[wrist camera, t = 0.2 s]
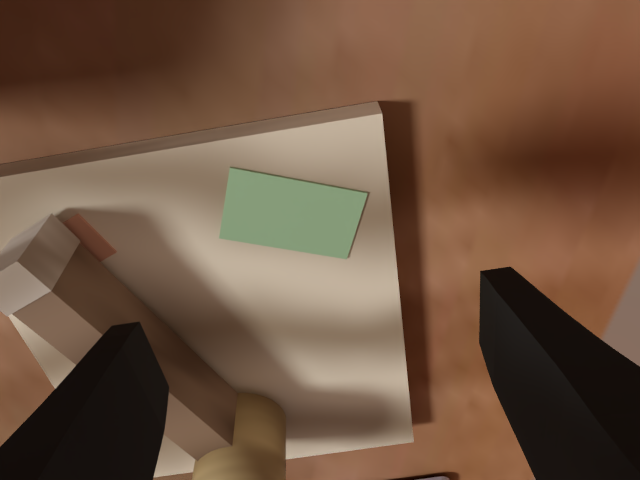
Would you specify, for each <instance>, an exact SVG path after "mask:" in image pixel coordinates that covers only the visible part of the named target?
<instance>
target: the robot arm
mask: <svg viewBox="0 0 640 480" xmlns="http://www.w3.org/2000/svg"><path fill="white" fill-rule="evenodd" d="M479 343H480V347H481V350H482V353H483V356H484V360H485V363H486V366H487V369H488V372H489V375H490V378H491V381H492V384H493V387H494V389H495V392H496V394H497V396H498V398H499V401H500V403H501V405H502V407H503V409H504V412H505V414H506V416H507V418H508V420H509V422H510V425H511V427H512V429H513V431H514V433H515V435H516V438H517V440H518V442H519V444H520V446H521V448H522V451H523V453H524V455H525V457H526V459H527V461H528V464H529V466H530V468H531V470H532V472H533V474H534V477H535V479H536V480H640V367H639V366H638V365H636V364H635V363H633V362H632V361H630V360H629V359H628V358H626V357H625V356H623V355H622V354H620V353H619V352H617V351H616V350H615V349H613V348H612V347H610V346H609V345H608V344H606V343H605V342H604V341H602V340H601V339H599V338H598V337H597V336H595V335H594V334H593V333H592V332H590V331H589V330H588V329H586V328H585V327H584V326H582V325H581V324H580V323H579V322H577V321H576V320H575V319H573V318H572V317H571V316H569V315H568V314H567V313H566V312H564V311H563V310H562V309H561V308H559V307H558V306H557V305H556V304H555V303H553V302H552V301H551V300H550V299H549V298H547V297H546V296H545V295H544V294H543V293H541V292H540V291H539V290H538V289H537V288H535V287H534V286H533V285H532V284H531V283H530V282H528V281H527V280H526V279H525V278H524V277H522V276H521V275H520V274H519V273H518V272H516V271H515V270H514V269H513V268H511V267H505V268H498V269H491V270H485V271H480V332H479ZM168 396H169V385H168V383H167V380H166V378H165V376H164V374H163V372H162V369H161V367H160V365H159V363H158V361H157V359H156V356H155V354H154V352H153V350H152V348H151V345H150V343H149V341H148V339H147V337H146V334H145V332H144V330H143V328H142V326H141V323H140V321H139V322H133V323H126V324H119V325H112V326H111V327H110V328H109V329H108V330H107V331H106V332H105V333H104V334H103V335H102V337H101V338H100V339H99V340H98V341H97V342H96V343H95V344H94V346H93V347H92V348H91V349H90V350H89V351H88V352H87V354H86V355H85V356H84V357H83V358H82V359H81V360H80V362H79V363H78V364H77V365H76V366H75V367H74V368H73V370H72V371H71V372H70V373H69V374H68V375H67V376H66V377H65V379H64V380H63V381H62V382H61V383H60V384H59V385H58V386H57V388H56V389H55V390H54V391H53V392H52V393H51V394H50V395H49V396H48V398H47V399H46V400H45V401H44V402H43V403H42V404H41V405H40V406H39V407H38V408H37V409H36V411H35V412H34V413H33V414H32V415H31V416H30V417H29V418H28V419H27V420H26V421H25V422H24V423H23V424H22V425H21V426H20V427H19V428H18V429H17V430H16V431H15V432H14V433H13V434H12V435H11V436H10V437H9V439H8V440H7V441H6V442H5V443H4V444H3V445H2V446H1V447H0V480H153V477H154V473H155V469H156V465H157V461H158V456H159V452H160V448H161V444H162V440H163V435H164V431H165V423H166V415H167V406H168ZM416 480H450V479H449V478H448V477H445V476H439V477H431V478H424V479H416Z"/></svg>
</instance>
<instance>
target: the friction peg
mask: <svg viewBox="0 0 640 480" xmlns="http://www.w3.org/2000/svg"><path fill="white" fill-rule="evenodd" d="M0 311H1V312H2V313H4V314H5V315H6V316H9V315H11V314H12V315H14V316H15V317H16V318H17V319H19V320H20V321H21V322H23V323H24V324H25V325H26V326H28V327H29V328H30V329H31V330H33V331H34V332H35V333H36V334H38V335H39V336H40V337H41V338H43V339H44V340H45V341H46V342H48V343H49V344H50V345H52V346H53V347H54V348H55V349H57V350H58V351H59V352H60V353H62V354H63V355H64V356H65V357H67V358H68V359H69V360H70V361H72V362H73V363H74V364H76V365H77V364H78V363H79V362H80V360H81V359H82V358H83V357H84V356H85V355H86V354H87V352H88V351H89V350H90V349H91V348H92V347H93V346H94V344H95V343H96V342H97V341H98V340H99V339H100V338H101V337H102V335H103V334H104V333H105V332H106V331H107V330H108V329H109V328H110V327H111V326H112V325H119V324H126V323H133V322H139V321H140V323H141V326H142V328H143V330H144V332H145V334H146V337H147V339H148V341H149V343H150V345H151V348H152V350H153V352H154V354H155V356H156V359H157V361H158V363H159V365H160V367H161V369H162V372H163V374H164V376H165V378H166V380H167V383H168V385H169V396H168V406H167V415H166V423H165V431H164V435H165V436H166V437H168V438H169V439H170V440H171V441H173V442H174V443H175V444H176V445H178V446H179V447H180V448H181V449H183V450H184V451H185V452H187V453H188V454H189V455H190V456H192V457H193V458H194V459H195V463H194V469H193V475H192V480H286V416H285V413H284V411H283V409H282V408H281V407H280V406H279V405H278V404H277V403H276V402H274V401H273V400H271V399H269V398H267V397H265V396H262V395H258V394H253V393H237V392H236V391H235V390H234V389H233V388H232V387H231V386H230V385H229V384H228V383H227V382H226V381H225V380H224V379H222V378H221V377H220V376H219V375H218V374H217V373H216V372H215V371H214V370H213V369H212V368H211V367H210V366H209V365H208V364H207V363H206V362H205V361H204V360H202V359H201V358H200V357H199V356H198V355H197V354H196V353H195V352H194V351H193V350H192V349H191V348H190V347H189V346H188V345H187V344H186V343H185V342H183V341H182V340H181V339H180V338H179V337H178V336H177V335H176V334H175V333H174V332H173V331H172V330H171V329H170V328H169V327H168V326H167V325H166V324H165V323H163V322H162V321H161V320H160V319H159V318H158V317H157V316H156V315H155V314H154V313H153V312H152V311H151V310H150V309H149V308H148V307H147V306H146V305H145V304H143V303H142V302H141V301H140V300H139V299H138V298H137V297H136V296H135V295H134V294H133V293H132V292H131V291H130V290H129V289H128V288H127V287H126V286H124V285H123V284H122V283H121V282H120V281H119V280H118V279H117V278H116V277H115V276H114V275H113V274H112V273H111V272H110V271H109V270H108V269H107V268H106V267H104V266H103V265H102V264H101V263H100V262H99V261H98V260H97V259H96V258H95V257H94V256H93V255H92V254H91V253H90V252H89V251H88V250H87V249H86V248H84V247H83V246H82V245H81V244H80V240H79V239H78V238H77V237H76V236H75V235H74V234H73V233H72V232H71V231H70V230H69V229H68V228H67V227H66V226H65V225H64V224H63V223H62V222H60V221H59V220H58V219H57V218H56V217H55V216H54V215H53V214H52V213H51V214H49V215H48V216H46V217H45V218H43V219H42V220H40V221H38V222H37V223H35V224H34V225H32V226H30V227H29V228H27V229H26V230H24V231H23V232H21V233H19V234H18V235H16V236H15V237H13V238H11V240H10V241H9V242H8V244H7V245H6V246H5V247H4V249H3V250H2V251H1V253H0Z"/></svg>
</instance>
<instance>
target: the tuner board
mask: <svg viewBox="0 0 640 480" xmlns="http://www.w3.org/2000/svg"><path fill="white" fill-rule="evenodd" d="M230 167H235V168H240V169H245V170H251V171H256V172H261V173H267V174H272V175H278V176H283V177H288V178H294V179H299V180H305V181H310V182H315V183H321V184H326V185H331V186H337V187H342V188H348V189H353V190H358V191H364V192H367V193H368V194H367V197H366V200H365V204H364V207H363V210H362V213H361V216H360V219H359V222H358V226H357V229H356V232H355V235H354V238H353V241H352V245H351V248H350V251H349V254H348V257H347V259H342V258H335V257H329V256H323V255H317V254H311V253H305V252H299V251H293V250H287V249H280V248H274V247H268V246H262V245H256V244H250V243H244V242H238V241H231V240H225V239H219V235H220V229H221V222H222V216H223V209H224V203H225V196H226V190H227V183H228V177H229V170H230ZM51 213H52V214H53V215H54V216H55V217H56V218H57V219H58V220H59V221H60V222H62V223H63V222H65V221H66V220H68V219H70V218H71V217H73V216H75V215H76V214H78V213H79V214H80V215H81V216H82V217H83V218H84V219H85V220H86V221H87V222H88V223H89V224H90V225H91V226H92V227H93V228H94V229H95V230H96V231H97V232H98V233H99V234H100V235H101V236H102V237H103V238H104V239H105V240H106V241H107V242H108V243H109V244H110V245H111V246H112V247H113V248H114V249H115V250H116V251H117V252H116V253H115V254H113V255H111V256H110V257H108V258H106V259H104V260H103V261H101V262H100V263H101V264H102V265H103V266H104V267H106V268H107V269H108V270H109V271H110V272H111V273H112V274H113V275H114V276H115V277H116V278H117V279H118V280H119V281H120V282H121V283H122V284H123V285H124V286H126V287H127V288H128V289H129V290H130V291H131V292H132V293H133V294H134V295H135V296H136V297H137V298H138V299H139V300H140V301H141V302H142V303H143V304H145V305H146V306H147V307H148V308H149V309H150V310H151V311H152V312H153V313H154V314H155V315H156V316H157V317H158V318H159V319H160V320H161V321H162V322H163V323H165V324H166V325H167V326H168V327H169V328H170V329H171V330H172V331H173V332H174V333H175V334H176V335H177V336H178V337H179V338H180V339H181V340H182V341H183V342H185V343H186V344H187V345H188V346H189V347H190V348H191V349H192V350H193V351H194V352H195V353H196V354H197V355H198V356H199V357H200V358H201V359H202V360H204V361H205V362H206V363H207V364H208V365H209V366H210V367H211V368H212V369H213V370H214V371H215V372H216V373H217V374H218V375H219V376H220V377H221V378H222V379H224V380H225V381H226V382H227V383H228V384H229V385H230V386H231V387H232V388H233V389H234V390H235V391H236V392H237V393H253V394H258V395H262V396H265V397H267V398H269V399H271V400H273V401H274V402H276V403H277V404H278V405H279V406H280V407H281V408H282V409H283V411H284V413H285V416H286V459H292V458H299V457H307V456H314V455H321V454H329V453H336V452H344V451H351V450H358V449H366V448H373V447H380V446H388V445H395V444H402V443H410V442H414V439H413V429H412V418H411V408H410V398H409V387H408V377H407V366H406V356H405V345H404V335H403V325H402V314H401V304H400V293H399V283H398V273H397V262H396V252H395V241H394V231H393V221H392V210H391V200H390V189H389V179H388V169H387V158H386V148H385V137H384V127H383V117H382V112H381V109H380V107H379V104H378V101H375V102H369V103H363V104H358V105H352V106H346V107H340V108H334V109H328V110H322V111H316V112H310V113H304V114H298V115H292V116H286V117H280V118H274V119H268V120H262V121H256V122H250V123H244V124H238V125H233V126H227V127H221V128H215V129H209V130H203V131H197V132H191V133H185V134H179V135H173V136H167V137H161V138H155V139H149V140H143V141H137V142H131V143H125V144H119V145H113V146H108V147H102V148H96V149H90V150H84V151H78V152H72V153H66V154H60V155H54V156H48V157H42V158H36V159H30V160H24V161H18V162H12V163H6V164H0V253H1V251H2V250H3V249H4V247H5V246H6V245H7V244H8V242H9V241H10V240H11V238H13V237H15V236H16V235H18V234H19V233H21V232H23V231H24V230H26V229H27V228H29V227H30V226H32V225H34V224H35V223H37V222H38V221H40V220H42V219H43V218H45V217H46V216H48V215H49V214H51ZM9 318H10V319H11V321H12V323H13V324H14V326H15V327H16V329H17V330H18V332H19V333H20V335H21V337H22V338H23V340H24V341H25V343H26V344H27V346H28V347H29V349H30V350H31V352H32V354H33V355H34V357H35V358H36V360H37V361H38V363H39V364H40V366H41V368H42V369H43V371H44V372H45V374H46V375H47V377H48V378H49V380H50V381H51V383H52V385H53V386H54V388H55V389H56V388H57V386H58V385H59V384H60V383H61V382H62V381H63V380H64V379H65V377H66V376H67V375H68V374H69V373H70V372H71V371H72V370H73V368H74V367H75V366H76V364H74V363H73V362H72V361H70V360H69V359H68V358H67V357H65V356H64V355H63V354H62V353H60V352H59V351H58V350H57V349H55V348H54V347H53V346H52V345H50V344H49V343H48V342H46V341H45V340H44V339H43V338H41V337H40V336H39V335H38V334H36V333H35V332H34V331H33V330H31V329H30V328H29V327H28V326H26V325H25V324H24V323H23V322H21V321H20V320H19V319H17V318H16V317H15V316H14V315H12V314H11V315H9ZM194 463H195V459H194V458H193V457H192V456H190V455H189V454H188V453H187V452H185V451H184V450H183V449H181V448H180V447H179V446H178V445H176V444H175V443H174V442H173V441H171V440H170V439H169V438H168V437H166V436H165V435H163V440H162V444H161V448H160V452H159V456H158V461H157V465H156V469H155V473H154V477H160V476H167V475H174V474H182V473H189V472H193V469H194Z"/></svg>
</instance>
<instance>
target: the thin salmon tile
mask: <svg viewBox="0 0 640 480" xmlns="http://www.w3.org/2000/svg"><path fill="white" fill-rule="evenodd" d="M63 224H64V225H65V226H66V227H67V228H68V229H69V230H70V231H71V232H72V233H73V234H74V235H75V236H76V237H77V238H78V239H79V240H80V244H81V245H82V246H83V247H84V248H86V249H87V250H88V251H89V252H90V253H91V254H92V255H93V256H94V257H95V258H96V259H97V260H98V261H99V262H101V261H103V260H104V259H106V258H108V257H110V256H111V255H113V254H115V253H116V252H117V251H116V250H115V249H114V248H113V247H112V246H111V245H110V244H109V243H108V242H107V241H106V240H105V239H104V238H103V237H102V236H101V235H100V234H99V233H98V232H97V231H96V230H95V229H94V228H93V227H92V226H91V225H90V224H89V223H88V222H87V221H86V220H85V219H84V218H83V217H82V216H81V215H80V214H79V213H78V214H76V215H75V216H73V217H71V218H70V219H68V220H66V221H65V222H63Z"/></svg>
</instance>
